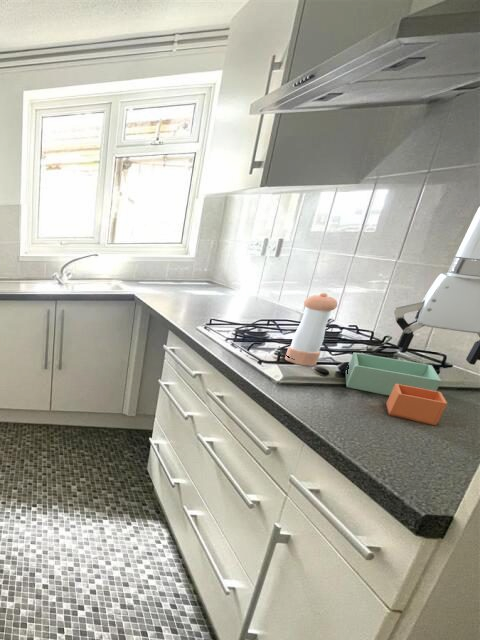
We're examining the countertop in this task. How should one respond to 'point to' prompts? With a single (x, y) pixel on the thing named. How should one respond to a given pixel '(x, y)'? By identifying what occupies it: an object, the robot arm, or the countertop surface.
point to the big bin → (388, 374)
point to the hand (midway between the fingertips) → (434, 356)
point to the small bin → (416, 404)
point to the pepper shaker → (311, 330)
